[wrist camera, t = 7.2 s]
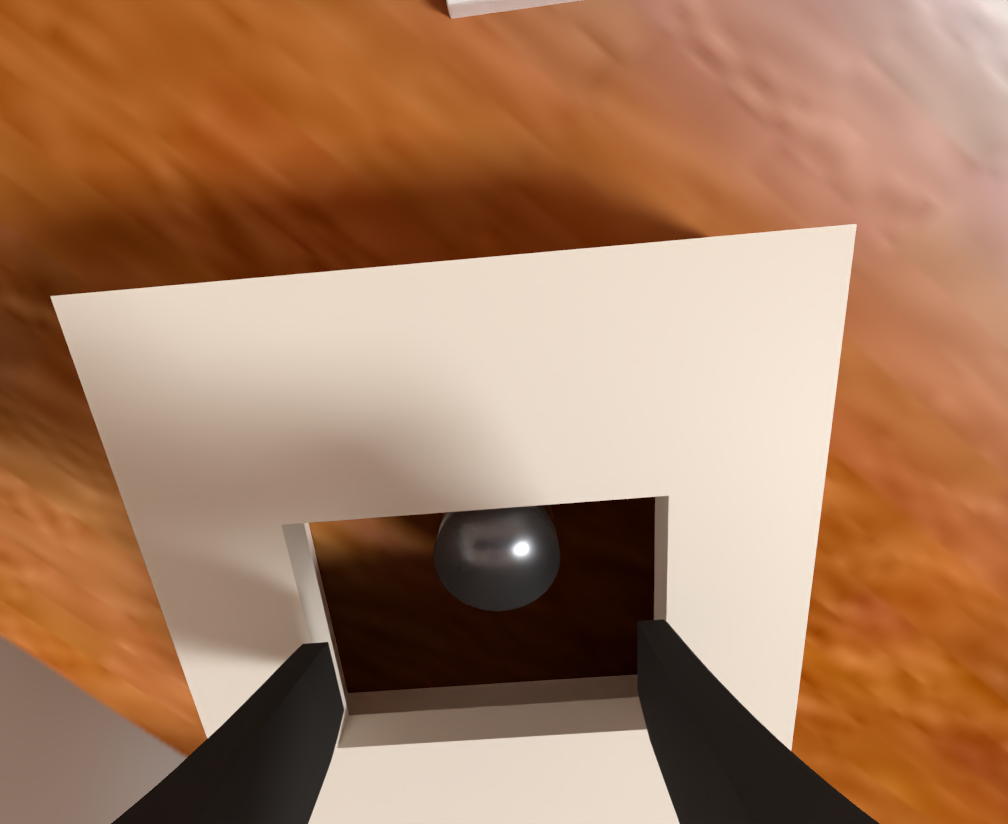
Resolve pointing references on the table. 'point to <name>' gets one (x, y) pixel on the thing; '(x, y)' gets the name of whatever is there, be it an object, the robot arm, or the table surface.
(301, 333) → the box
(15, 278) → the table surface
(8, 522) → the table surface
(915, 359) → the table surface
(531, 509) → the dark grey rounded piece
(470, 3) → the external hard drive
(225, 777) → the robot arm
